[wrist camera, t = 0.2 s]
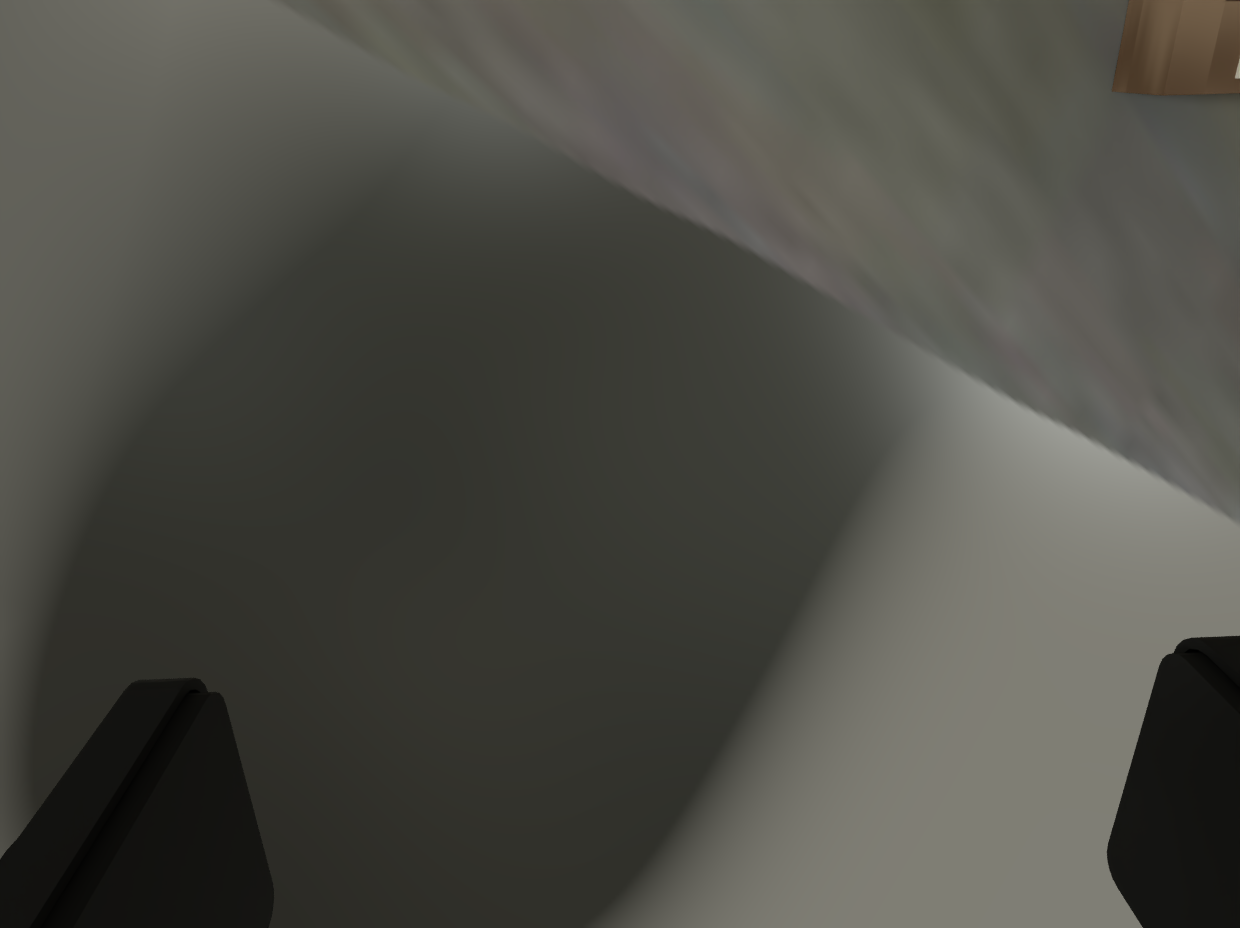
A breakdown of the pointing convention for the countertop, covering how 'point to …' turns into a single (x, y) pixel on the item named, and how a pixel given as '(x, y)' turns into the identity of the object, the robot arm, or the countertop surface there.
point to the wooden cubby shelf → (1180, 48)
